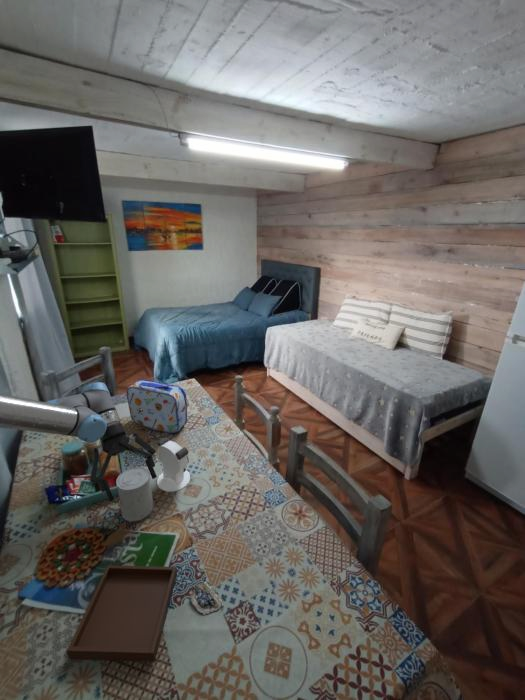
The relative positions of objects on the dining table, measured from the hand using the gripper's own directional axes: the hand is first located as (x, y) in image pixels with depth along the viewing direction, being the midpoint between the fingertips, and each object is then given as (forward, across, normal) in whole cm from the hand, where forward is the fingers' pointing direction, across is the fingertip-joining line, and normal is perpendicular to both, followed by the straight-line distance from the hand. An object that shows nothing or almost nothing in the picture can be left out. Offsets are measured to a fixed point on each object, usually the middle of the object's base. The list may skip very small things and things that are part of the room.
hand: (134, 488), depth 99 cm
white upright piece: (+4, +15, +7) cm, 17 cm away
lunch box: (-20, +27, +31) cm, 46 cm away
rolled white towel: (+6, 0, +5) cm, 8 cm away
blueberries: (+32, +1, -22) cm, 39 cm away
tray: (+25, -14, -15) cm, 32 cm away
